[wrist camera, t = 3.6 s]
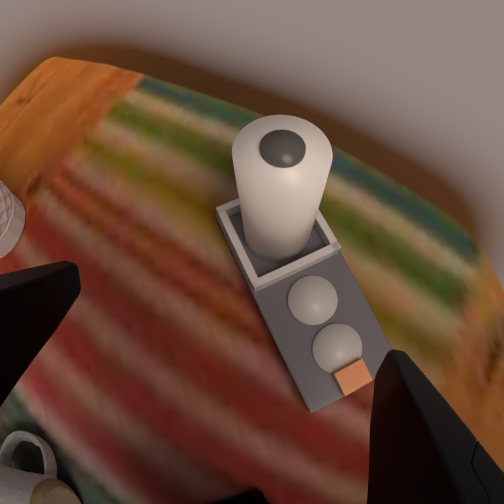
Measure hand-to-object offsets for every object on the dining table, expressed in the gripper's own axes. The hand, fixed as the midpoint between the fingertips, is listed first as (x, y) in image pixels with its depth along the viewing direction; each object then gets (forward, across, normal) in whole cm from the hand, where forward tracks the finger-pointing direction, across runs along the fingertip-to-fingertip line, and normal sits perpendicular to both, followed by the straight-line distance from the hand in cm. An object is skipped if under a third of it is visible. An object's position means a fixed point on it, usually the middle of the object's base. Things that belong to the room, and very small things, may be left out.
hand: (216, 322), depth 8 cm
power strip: (+13, -3, +6) cm, 15 cm away
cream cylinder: (+14, 0, +3) cm, 14 cm away
